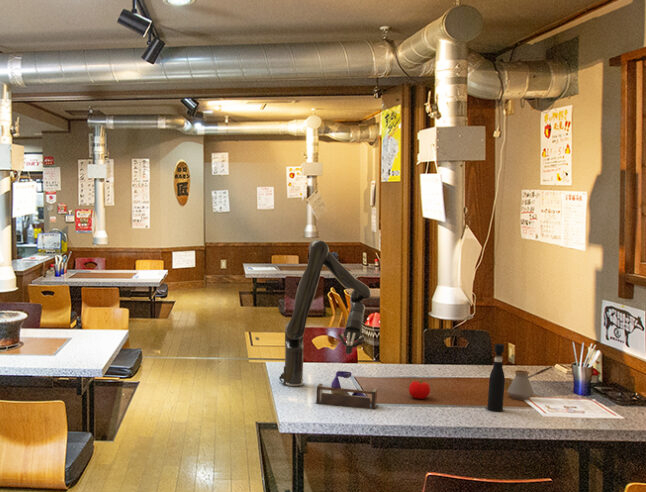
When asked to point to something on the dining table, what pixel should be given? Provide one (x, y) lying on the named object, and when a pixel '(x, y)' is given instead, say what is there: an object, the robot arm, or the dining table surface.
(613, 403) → the dining table surface
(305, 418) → the dining table surface
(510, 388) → the coffee pot
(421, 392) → the tomato
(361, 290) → the robot arm
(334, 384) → the sandal
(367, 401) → the shoe rack
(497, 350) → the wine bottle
